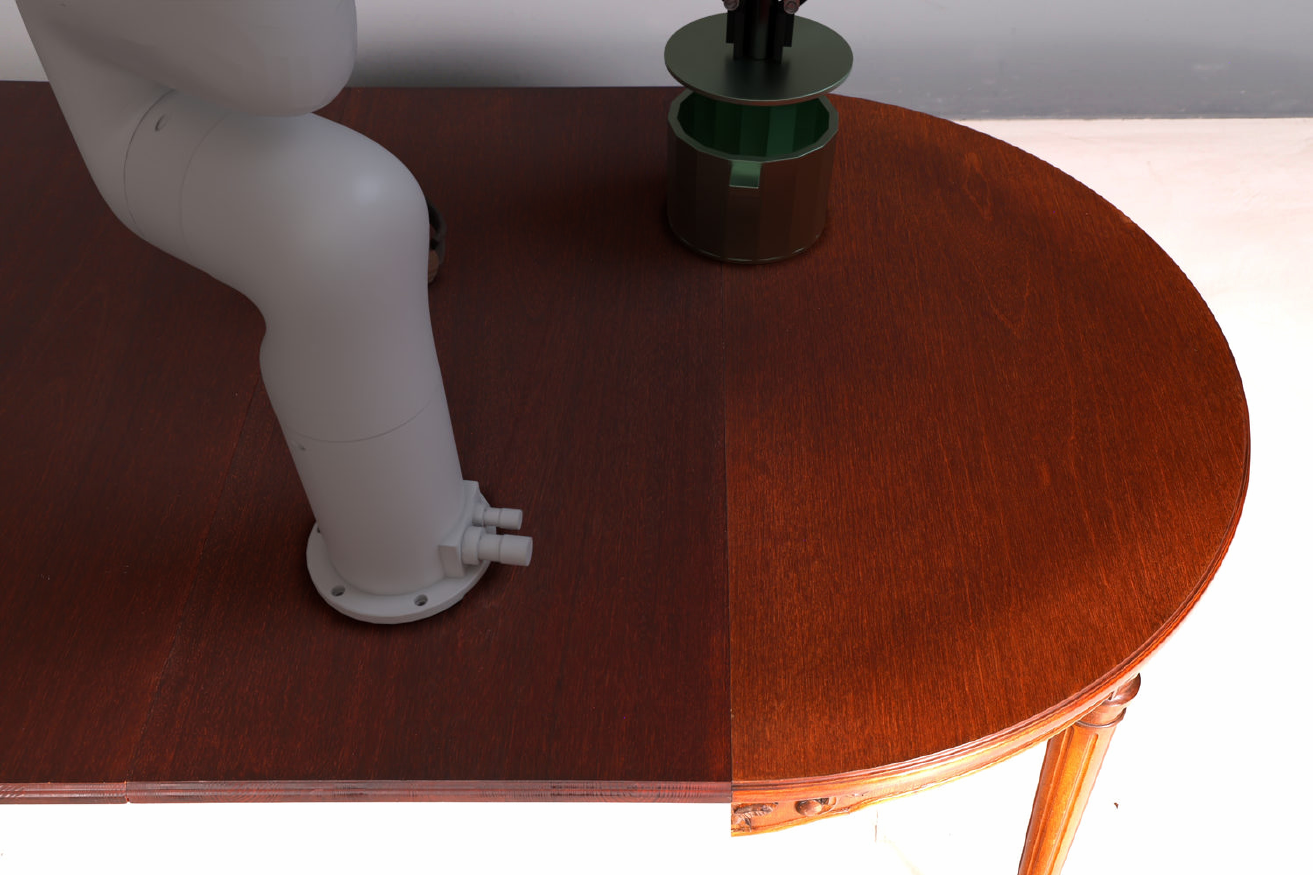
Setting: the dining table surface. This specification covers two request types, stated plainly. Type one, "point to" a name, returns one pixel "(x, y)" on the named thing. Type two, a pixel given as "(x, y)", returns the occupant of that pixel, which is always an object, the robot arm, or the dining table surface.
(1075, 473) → the dining table surface
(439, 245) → the pottery mug
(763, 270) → the dining table surface
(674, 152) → the pot
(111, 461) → the dining table surface
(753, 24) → the lid
